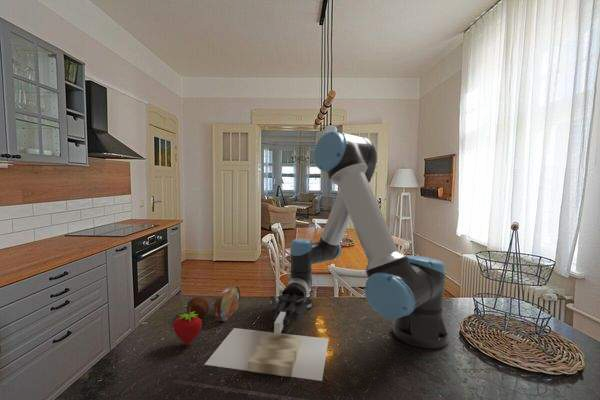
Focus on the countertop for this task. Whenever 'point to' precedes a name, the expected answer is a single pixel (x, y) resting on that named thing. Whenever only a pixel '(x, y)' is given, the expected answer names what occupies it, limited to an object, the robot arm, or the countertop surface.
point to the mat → (245, 341)
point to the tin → (227, 303)
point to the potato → (198, 306)
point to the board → (275, 355)
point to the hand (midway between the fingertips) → (277, 328)
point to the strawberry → (187, 327)
